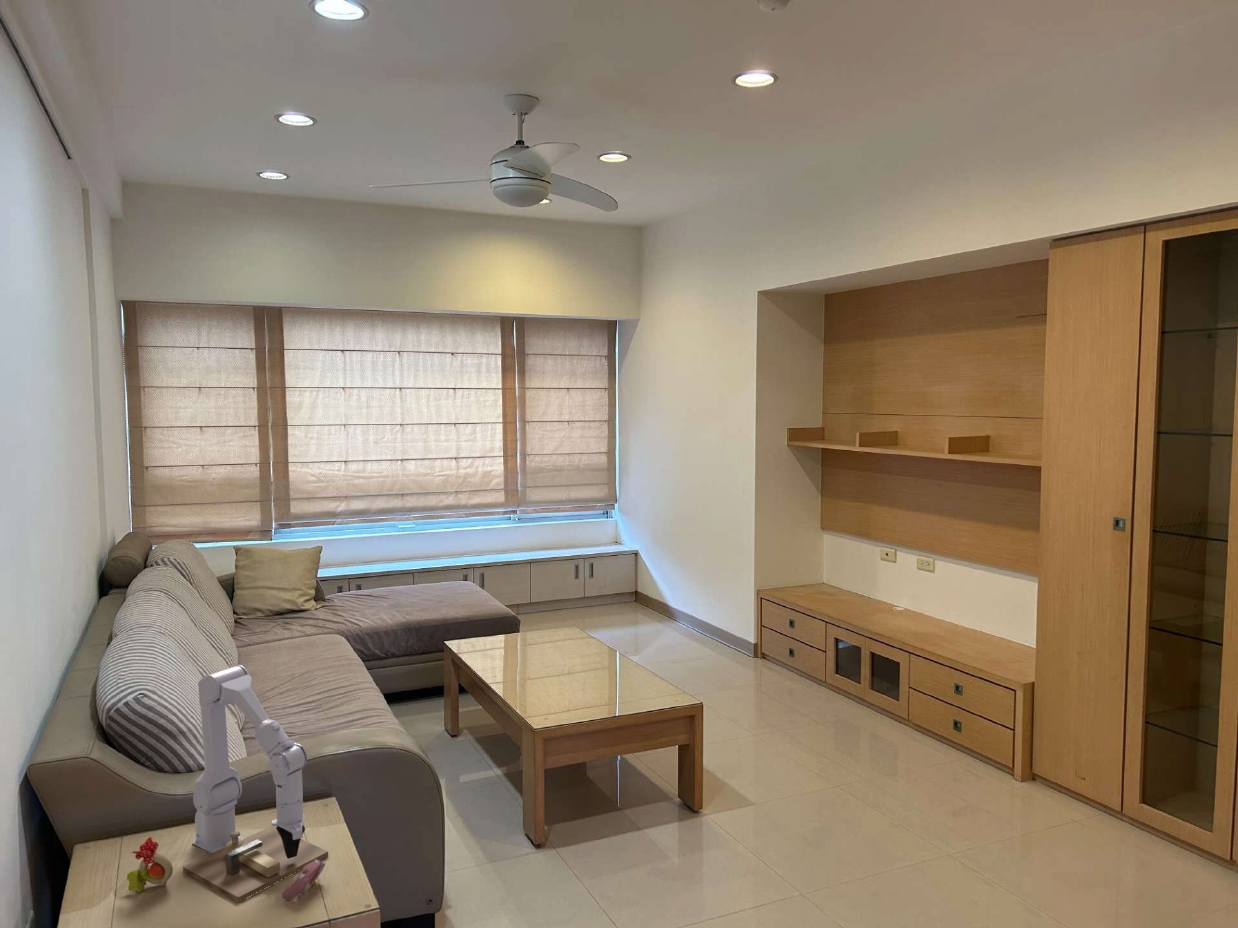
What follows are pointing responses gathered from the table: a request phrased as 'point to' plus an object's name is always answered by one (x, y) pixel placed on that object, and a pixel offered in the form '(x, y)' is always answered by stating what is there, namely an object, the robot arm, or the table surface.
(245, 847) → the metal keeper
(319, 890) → the table surface
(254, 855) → the wooden link
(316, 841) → the table surface
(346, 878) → the table surface
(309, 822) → the table surface
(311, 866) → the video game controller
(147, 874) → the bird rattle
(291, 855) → the robot arm
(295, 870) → the walnut board
